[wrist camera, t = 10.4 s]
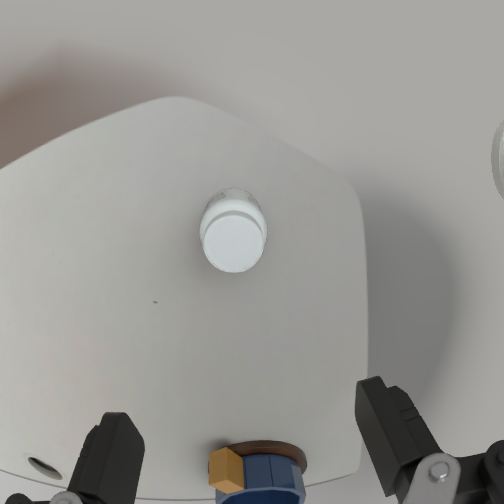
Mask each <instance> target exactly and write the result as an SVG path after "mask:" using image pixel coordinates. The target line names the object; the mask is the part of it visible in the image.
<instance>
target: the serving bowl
mask: <svg viewBox="0 0 504 504" xmlns="http://www.w3.org/2000/svg"><path fill="white" fill-rule="evenodd" d="M209 485H210V486H212V487H214V488H216V504H303V503H304V502H305V497H306V493H305V488H304V483H303V478H302V474H301V469H300V466H298V464H297V463H296V462H295V461H294V460H292V459H290V458H288V457H285V456H280V455H273V454H256V455H248V456H243V457H240V456H239V455H237V454H236V453H234V452H233V451H231V450H230V449H229V448H227V447H225V448H222V449H219V450H216V451H213V452H210V458H209Z"/></svg>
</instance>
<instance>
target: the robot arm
mask: <svg viewBox="0 0 504 504" xmlns="http://www.w3.org/2000/svg"><path fill="white" fill-rule="evenodd" d="M355 417H356V422H357V425H358V427H359V430H360V432H361V435H362V437H363V440H364V442H365V445H366V447H367V450H368V452H369V455H370V457H371V460H372V462H373V465H374V467H375V470H376V473H377V475H378V478H379V480H380V483H381V485H382V488H383V491H384V493H385V496H386V497H388V496H391V495H393V494H396V497H397V499H398V504H504V440H500V441H497V442H495V443H494V444H492V445H491V446H490V447H489V449H488V450H487V451H486V453H481V454H477V455H472V456H467V457H453V456H452V455H450V454H446V453H444V452H443V451H442V450H441V449H440V447H439V446H438V444H437V443H436V441H435V439H434V437H433V436H432V434H431V432H430V431H429V429H428V427H427V425H426V424H425V422H424V420H423V419H422V417H421V416H420V415H419V412H418V410H417V409H416V407H414V404H413V402H412V401H411V399H410V397H409V396H408V394H407V393H406V392H404V391H403V390H401V389H400V388H398V387H397V386H393V387H390V388H387V387H386V386H385V384H384V382H383V380H382V379H381V377H379V376H375V377H372V378H368V379H365V380H361V381H358V382H357V385H356V399H355ZM144 452H145V445H144V440H143V438H142V436H141V435H140V433H139V432H138V430H137V428H136V427H135V425H134V424H133V422H132V421H131V419H130V418H129V416H128V415H127V414H126V413H124V412H106V413H105V414H104V415H103V417H102V420H101V422H100V425H99V426H98V425H95V427H94V428H93V429H92V430H91V431H90V432H89V433H88V435H87V437H86V439H85V442H84V444H83V448H82V450H81V452H80V457H79V458H78V461H77V463H76V466H75V469H74V472H73V475H72V478H71V480H70V483H69V486H68V489H67V491H63V492H59V493H57V494H56V495H55V496H54V497H53V498H52V499H51V501H34V502H33V501H31V500H30V499H29V498H28V497H27V496H25V495H24V494H20V493H17V494H13V495H11V496H10V497H9V498H8V499H7V501H6V503H5V504H134V502H135V497H136V491H137V486H138V481H139V476H140V471H141V466H142V462H143V457H144Z"/></svg>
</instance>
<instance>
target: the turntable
mask: <svg viewBox="0 0 504 504" xmlns="http://www.w3.org/2000/svg"><path fill="white" fill-rule="evenodd" d="M227 448H229V449H230V450H231V451H233V452H234V453H236V454H237V455H239V456H240V457H243V456H248V455H256V454H273V455H280V456H285V457H288V458H290V459H292V460H294V461H295V462H296V463H297V464H298V466H300V469H301V474H303V473H304V472H305V470H306V468H307V461H306V457H305V454H304V453H303V451H302V450H301V449H299V448H298V447H296V446H294V445H291V444H288V443H284V442H279V441H250V442H243V443H239V444H235V445H231V446H228V447H227ZM208 473H209V464H208Z"/></svg>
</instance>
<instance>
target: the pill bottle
mask: <svg viewBox="0 0 504 504" xmlns="http://www.w3.org/2000/svg"><path fill="white" fill-rule="evenodd" d="M266 239H267V225H266V221H265V218H264V215H263V213H262V211H261V209H260V207H259V205H258V203H257V201H256V200H255V199H254V197H253V196H252V195H250V194H249V193H247V192H246V191H243V190H240V189H226V190H223V191H221V192H219V193H217V194H216V195H215V196H213V197H212V198H211V200H210V201H209V203H208V205H207V207H206V210H205V212H204V215H203V217H202V220H201V224H200V240H201V243H202V245H203V249H204V253H205V255H206V257H207V259H208V260H209V262H210V263H211V264H212V265H213V266H214V267H215V268H217V269H219V270H221V271H224V272H229V273H239V272H243V271H246V270H248V269H250V268H251V267H253V266H254V265H255V264H256V263H257V262H258V260H259V259H260V257H261V255H262V252H263V248H264V245H265V242H266Z"/></svg>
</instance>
